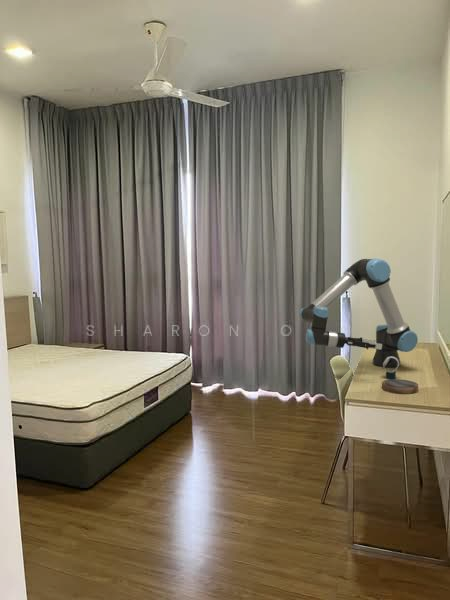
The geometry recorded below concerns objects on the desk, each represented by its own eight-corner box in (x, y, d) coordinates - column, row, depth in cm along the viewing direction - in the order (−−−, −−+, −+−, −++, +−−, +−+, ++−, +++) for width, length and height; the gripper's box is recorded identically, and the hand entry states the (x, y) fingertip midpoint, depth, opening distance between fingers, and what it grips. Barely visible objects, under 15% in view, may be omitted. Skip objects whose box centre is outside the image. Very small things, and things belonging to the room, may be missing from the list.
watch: (382, 376, 249) (383, 355, 248) (399, 377, 246) (399, 356, 245) (381, 378, 244) (382, 357, 243) (398, 380, 241) (398, 358, 240)
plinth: (393, 382, 236) (393, 376, 235) (424, 389, 223) (424, 383, 223) (375, 388, 226) (375, 382, 225) (406, 396, 213) (406, 389, 213)
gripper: (331, 343, 258) (371, 348, 256) (339, 350, 233) (383, 356, 232) (333, 329, 257) (373, 334, 256) (341, 335, 232) (385, 340, 231)
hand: (378, 344), depth 244 cm, fingers open, 13 cm apart
